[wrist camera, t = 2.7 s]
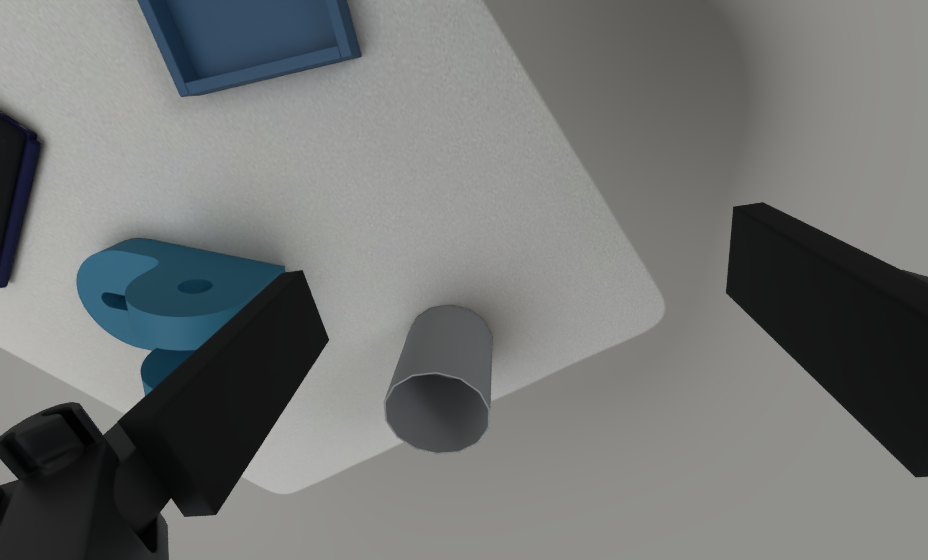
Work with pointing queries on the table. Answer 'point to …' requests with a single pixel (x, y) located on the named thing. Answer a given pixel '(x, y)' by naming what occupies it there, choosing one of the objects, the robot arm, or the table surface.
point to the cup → (442, 382)
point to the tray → (247, 39)
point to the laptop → (14, 185)
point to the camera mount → (167, 297)
